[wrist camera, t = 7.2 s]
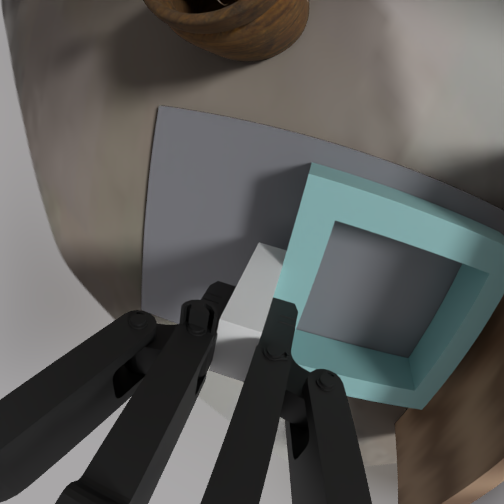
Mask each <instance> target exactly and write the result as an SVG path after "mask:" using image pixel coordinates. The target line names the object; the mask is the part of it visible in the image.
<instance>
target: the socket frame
mask: <svg viewBox="0 0 504 504" xmlns="http://www.w3.org/2000/svg"><path fill="white" fill-rule="evenodd" d="M335 220H336V221H339V222H342V223H345V224H348V225H352V226H355V227H358V228H361V229H364V230H367V231H370V232H373V233H377V234H380V235H383V236H386V237H389V238H392V239H395V240H398V241H401V242H404V243H406V244H409V245H412V246H415V247H418V248H421V249H424V250H427V251H430V252H432V253H435V254H438V255H441V256H444V257H446V258H449V259H452V260H455V261H457V262H460V263H462V265H461V267H460V269H459V271H458V273H457V275H456V277H455V279H454V281H453V283H452V285H451V287H450V289H449V291H448V293H447V295H446V296H445V298H444V300H443V302H442V304H441V306H440V307H439V309H438V311H437V313H436V314H435V316H434V318H433V320H432V321H431V323H430V325H429V326H428V328H427V330H426V331H425V333H424V334H423V336H422V338H421V339H420V341H419V343H418V344H417V346H416V347H415V349H414V350H413V352H412V353H411V355H410V356H409V358H405V357H401V356H397V355H392V354H388V353H384V352H380V351H376V350H372V349H368V348H364V347H360V346H356V345H352V344H348V343H345V342H341V341H337V340H333V339H330V338H326V337H322V336H319V335H315V334H311V333H308V332H304V331H301V330H297V329H296V328H297V325H298V323H299V320H300V318H301V315H302V312H303V310H304V307H305V304H306V302H307V299H308V296H309V294H310V291H311V288H312V285H313V283H314V280H315V277H316V274H317V272H318V269H319V266H320V263H321V260H322V258H323V255H324V252H325V249H326V246H327V243H328V240H329V237H330V234H331V231H332V228H333V225H334V222H335ZM503 294H504V235H503V234H501V233H500V232H499V231H496V230H494V229H492V228H490V227H488V226H486V225H483V224H481V223H479V222H477V221H474V220H472V219H470V218H467V217H465V216H463V215H460V214H458V213H456V212H453V211H451V210H448V209H446V208H444V207H441V206H439V205H436V204H434V203H431V202H428V201H426V200H423V199H421V198H418V197H415V196H413V195H410V194H407V193H405V192H402V191H399V190H396V189H394V188H391V187H388V186H385V185H382V184H379V183H376V182H373V181H371V180H368V179H365V178H361V177H358V176H355V175H352V174H349V173H346V172H343V171H340V170H336V169H333V168H330V167H326V166H323V165H320V164H316V163H313V162H312V164H311V167H310V171H309V174H308V178H307V182H306V185H305V189H304V193H303V196H302V200H301V203H300V207H299V210H298V214H297V217H296V221H295V224H294V228H293V231H292V235H291V238H290V242H289V245H288V249H287V252H286V255H285V259H284V262H283V266H282V269H281V273H280V276H279V279H278V283H277V286H276V289H275V292H274V296H273V297H274V298H278V299H281V300H284V301H288V302H291V303H294V304H295V305H296V308H297V310H298V316H297V321H296V326H295V332H294V338H293V343H292V348H291V354H292V357H293V359H294V361H295V362H296V363H297V364H298V365H299V366H301V367H302V368H304V369H306V370H307V371H309V372H312V371H314V370H316V369H326V370H330V371H332V372H334V373H336V374H337V375H338V376H339V377H340V378H341V380H342V382H343V384H344V388H345V392H346V396H350V397H355V398H359V399H364V400H369V401H374V402H379V403H385V404H390V405H396V406H402V407H408V408H414V409H420V410H422V409H423V408H424V407H425V406H426V405H427V403H428V402H429V401H430V400H431V399H432V397H433V396H434V395H435V394H436V393H437V391H438V390H439V389H440V388H441V386H442V385H443V384H444V383H445V381H446V380H447V379H448V378H449V376H450V375H451V374H452V372H453V371H454V370H455V368H456V367H457V366H458V364H459V363H460V362H461V360H462V359H463V357H464V356H465V355H466V353H467V352H468V350H469V349H470V348H471V346H472V345H473V343H474V342H475V340H476V339H477V337H478V336H479V334H480V333H481V331H482V330H483V328H484V326H485V325H486V323H487V322H488V320H489V318H490V317H491V315H492V313H493V312H494V310H495V308H496V307H497V305H498V303H499V302H500V300H501V298H502V296H503Z"/></svg>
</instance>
